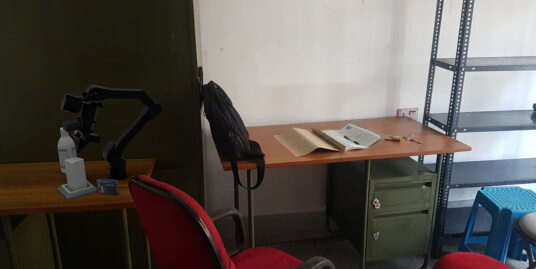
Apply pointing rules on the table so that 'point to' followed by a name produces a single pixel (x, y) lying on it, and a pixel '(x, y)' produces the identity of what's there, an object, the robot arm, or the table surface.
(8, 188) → the table surface
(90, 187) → the base plate
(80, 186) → the white post
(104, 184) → the mini dv tape
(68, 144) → the bath foam
